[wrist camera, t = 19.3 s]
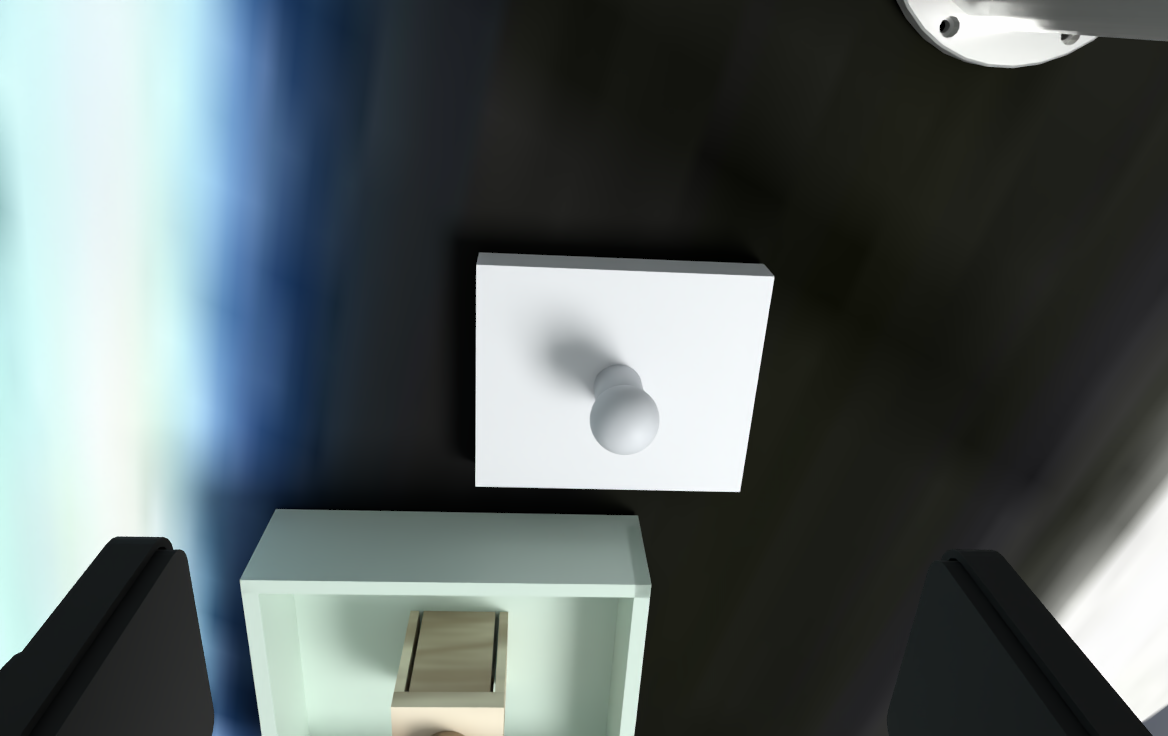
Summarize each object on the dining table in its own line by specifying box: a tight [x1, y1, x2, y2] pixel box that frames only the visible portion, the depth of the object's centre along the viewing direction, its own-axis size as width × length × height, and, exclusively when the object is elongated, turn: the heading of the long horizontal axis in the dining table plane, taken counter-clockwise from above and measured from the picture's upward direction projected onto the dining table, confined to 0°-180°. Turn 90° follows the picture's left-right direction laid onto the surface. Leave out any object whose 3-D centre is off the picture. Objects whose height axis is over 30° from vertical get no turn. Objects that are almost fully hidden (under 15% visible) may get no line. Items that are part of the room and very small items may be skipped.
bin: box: [240, 509, 651, 736], centre depth 46 cm, size 20×18×6 cm
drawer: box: [391, 611, 508, 736], centre depth 44 cm, size 6×6×8 cm
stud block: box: [475, 252, 774, 492], centre depth 39 cm, size 14×12×7 cm
